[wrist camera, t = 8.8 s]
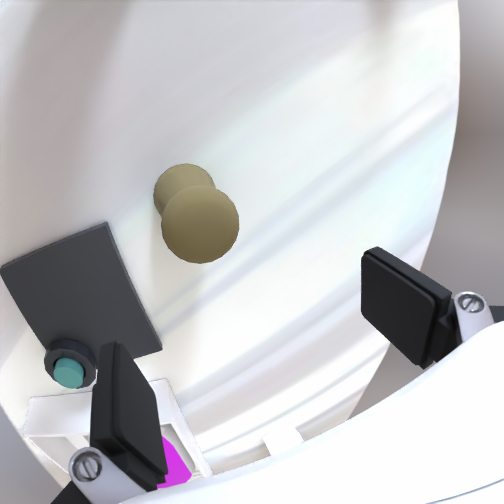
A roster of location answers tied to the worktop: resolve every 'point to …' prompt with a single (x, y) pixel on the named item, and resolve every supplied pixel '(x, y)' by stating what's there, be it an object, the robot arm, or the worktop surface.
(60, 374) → the button
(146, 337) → the scale
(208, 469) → the white tray with pad
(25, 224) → the worktop surface
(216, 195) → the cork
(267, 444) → the milk
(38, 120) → the worktop surface
